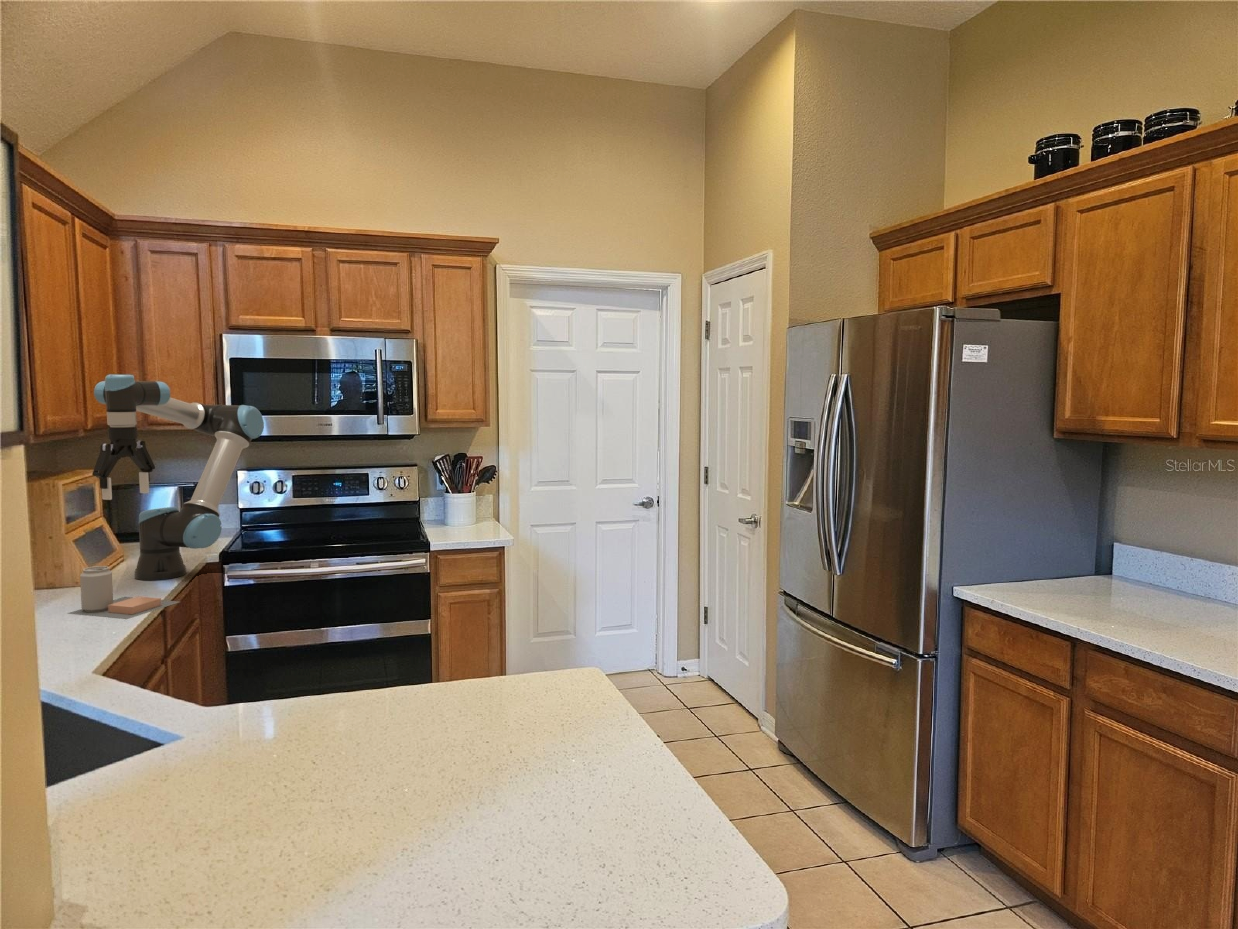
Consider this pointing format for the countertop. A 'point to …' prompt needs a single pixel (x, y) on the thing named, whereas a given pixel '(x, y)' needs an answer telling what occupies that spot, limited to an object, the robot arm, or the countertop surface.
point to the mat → (118, 615)
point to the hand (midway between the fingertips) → (126, 496)
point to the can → (96, 588)
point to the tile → (134, 605)
